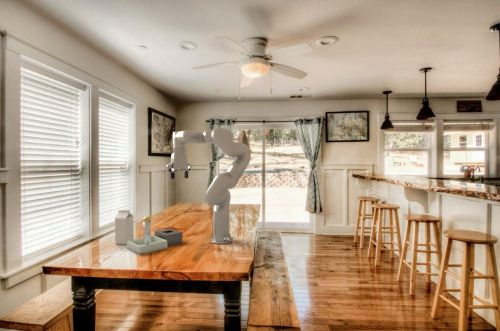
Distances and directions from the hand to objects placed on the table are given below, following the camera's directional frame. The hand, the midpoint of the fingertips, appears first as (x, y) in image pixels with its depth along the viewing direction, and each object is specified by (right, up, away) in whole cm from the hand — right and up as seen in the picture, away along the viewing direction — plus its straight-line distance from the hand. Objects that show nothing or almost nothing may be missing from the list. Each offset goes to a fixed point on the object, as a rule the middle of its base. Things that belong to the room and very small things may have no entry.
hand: (179, 178), depth 179 cm
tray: (-12, -37, -24) cm, 45 cm away
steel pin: (-12, -36, -24) cm, 45 cm away
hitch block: (-4, -37, -12) cm, 39 cm away
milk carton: (-29, -37, -13) cm, 49 cm away
